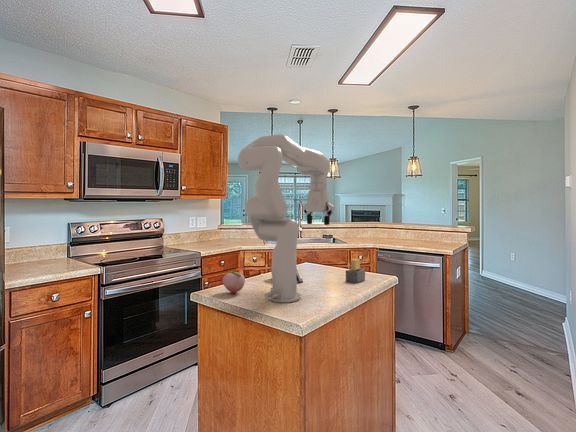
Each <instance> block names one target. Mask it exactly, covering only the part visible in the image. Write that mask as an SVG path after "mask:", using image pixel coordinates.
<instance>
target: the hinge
mask: <svg viewBox="0 0 576 432" xmlns="http://www.w3.org/2000/svg"><path fill="white" fill-rule="evenodd" d="M270 272H271V274H272V265H271V266H270ZM299 283H304V280H303V278H301V276H300V273H299V270H297V285H298V284H299Z"/></svg>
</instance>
